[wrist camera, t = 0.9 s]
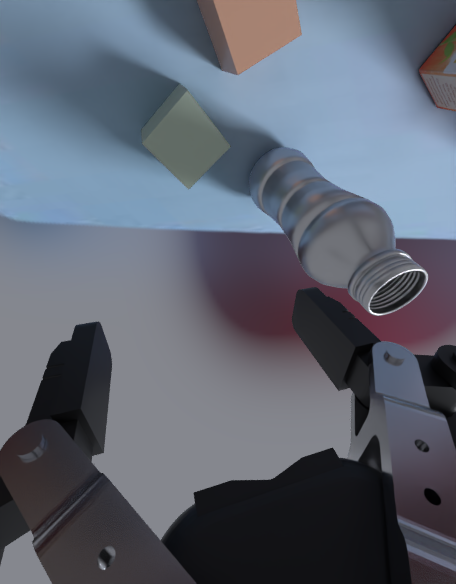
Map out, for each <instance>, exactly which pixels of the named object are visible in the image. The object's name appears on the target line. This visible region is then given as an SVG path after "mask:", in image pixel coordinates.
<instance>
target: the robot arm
mask: <svg viewBox="0 0 456 584" xmlns="http://www.w3.org/2000/svg"><path fill="white" fill-rule="evenodd" d="M292 323H293V327H294V329H295V331H296V333H297V334H298V335H299V337H300V338H301V340H302V341H303V342H304V344H305V345H306V346H307V348H308V349H309V351H310V352H311V353H312V355H313V356H314V358H315V359H316V360H317V362H318V363H319V364H320V366H321V367H322V369H323V370H324V371H325V373H326V374H327V376H328V377H329V378H330V380H331V381H332V382H333V384H334V385H335V387H336V388H337V389H338V390H339V391H340V390H343V389H347V388H351V390H352V391H353V394H352V396H351V443H350V449H349V453H348V458H347V459H345V458H339V457H338V456H337V454H336V452H335V450H334V449H333V448H330V449H327V450H324V451H321V452H318V453H315V454H312V455H308V456H305V457H303V458H301V459H300V460H298V461H297V462H295V463H294V464H293V465H291V466H290V467H289V468H287V469H286V470H285V471H283V472H282V473H281V474H279V475H278V476H276V477H275V478H273V479H271V480H235V481H234V480H232V481H228V482H225V483H222V484H219V485H216V486H213V487H210V488H207V489H204V490H200V491H197V492H194V499H195V504H194V505H192V506H191V507H190V508H188V509H187V510H186V511H185V512H183V513H182V514H181V515H180V516H179V517H178V518H177V519H176V520H175V522H174V523H173V524H172V525H171V526H170V528H169V529H168V530H167V532H166V533H165V534H164V536H163V537H162V539H161V541H160V540H159V538H158V537H157V536H156V535H155V533H154V532H153V531H152V530H151V529H150V528H149V526H148V525H147V524H146V523H145V522H144V520H143V519H142V518H141V517H140V516H139V515H138V513H137V512H136V511H135V510H134V509H133V507H132V506H131V505H130V504H129V503H128V501H127V500H126V499H125V498H124V497H123V496H122V494H121V493H120V492H119V491H118V489H117V488H116V487H115V486H114V485H113V484H112V482H111V481H110V480H109V479H108V478H107V477H106V476H105V475H104V474H103V473H100V472H99V471H98V469H97V468H96V467H95V466H94V465H93V463H92V462H91V461H92V456H94V455H97V454H101V453H104V444H105V433H106V423H107V412H108V402H109V391H110V380H111V371H112V359H111V353H110V349H109V346H108V343H107V340H106V338H105V335H104V332H103V329H102V326H101V324H100V322H92V323H86V324H80V325H76V326H75V329H74V332H73V335H72V339H71V341H65V342H61V343H60V344H59V345H58V346H57V348H56V349H55V350H54V351H53V352H52V353H51V355H50V358H49V361H48V364H47V366H46V367H47V369H46V370H45V372H44V375H43V380H42V381H41V383H40V386H39V389H38V392H37V395H36V398H35V401H34V403H33V406H32V409H31V412H30V415H29V418H28V420H27V423H26V425H25V426H24V427H23V428H21V429H19V430H18V431H17V432H16V433H14V434H13V435H12V436H11V437H10V438H9V439H8V440H7V441H6V443H5V444H4V445H3V447H2V449H1V450H0V564H1V560H2V556H3V552H4V548H5V546H7V545H8V544H10V543H11V542H13V541H14V540H16V539H17V538H19V537H20V536H22V535H24V534H25V533H27V532H28V531H30V530H31V531H32V534H33V536H34V540H33V547H34V550H35V552H36V554H37V556H38V558H39V560H40V562H41V564H42V565H43V567H44V569H45V571H46V573H47V575H48V577H49V578H50V581H51V582H52V584H456V346H453V345H444V346H441V347H439V348H438V350H437V352H436V353H435V355H434V356H429V355H413V354H412V353H411V352H410V351H409V350H408V349H406V348H405V347H402V346H401V345H398V344H395V343H392V342H381V341H380V340H379V339H378V338H377V337H376V336H375V335H374V334H373V333H372V332H371V331H370V330H369V329H368V328H366V327H365V326H364V325H363V324H362V323H361V322H360V321H359V320H358V319H356V318H355V316H354V315H353V314H351V312H348V310H347V309H346V308H345V307H344V306H343V305H342V304H341V303H340V302H338V301H336V300H334V299H332V298H330V297H326V296H325V295H324V294H323V293H322V292H321V291H320V290H319V289H318V288H316V287H314V288H307V289H302V290H298V292H297V294H296V299H295V305H294V310H293V316H292Z"/></svg>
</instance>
